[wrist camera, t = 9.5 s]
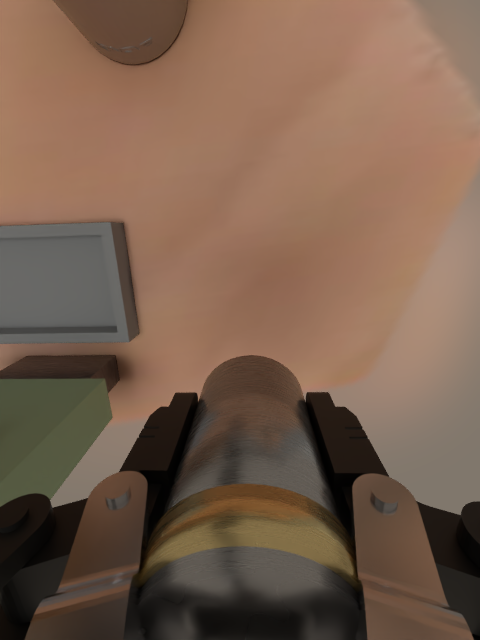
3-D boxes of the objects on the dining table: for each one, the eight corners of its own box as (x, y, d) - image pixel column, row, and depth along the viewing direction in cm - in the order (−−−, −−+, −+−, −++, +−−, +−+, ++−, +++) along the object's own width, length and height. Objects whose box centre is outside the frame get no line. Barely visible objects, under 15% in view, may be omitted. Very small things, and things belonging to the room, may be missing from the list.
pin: (194, 353, 11) (98, 560, 4) (307, 352, 10) (402, 568, 4) (202, 445, 12) (139, 716, 5) (303, 445, 12) (369, 728, 5)
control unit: (6, 347, 31) (-294, 489, 14) (131, 345, 30) (-25, 494, 13) (18, 386, 33) (-242, 559, 16) (138, 386, 32) (4, 567, 15)
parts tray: (-78, 229, 28) (-109, 229, 25) (123, 222, 27) (110, 222, 24) (-41, 335, 31) (-65, 344, 29) (139, 333, 30) (129, 342, 28)
